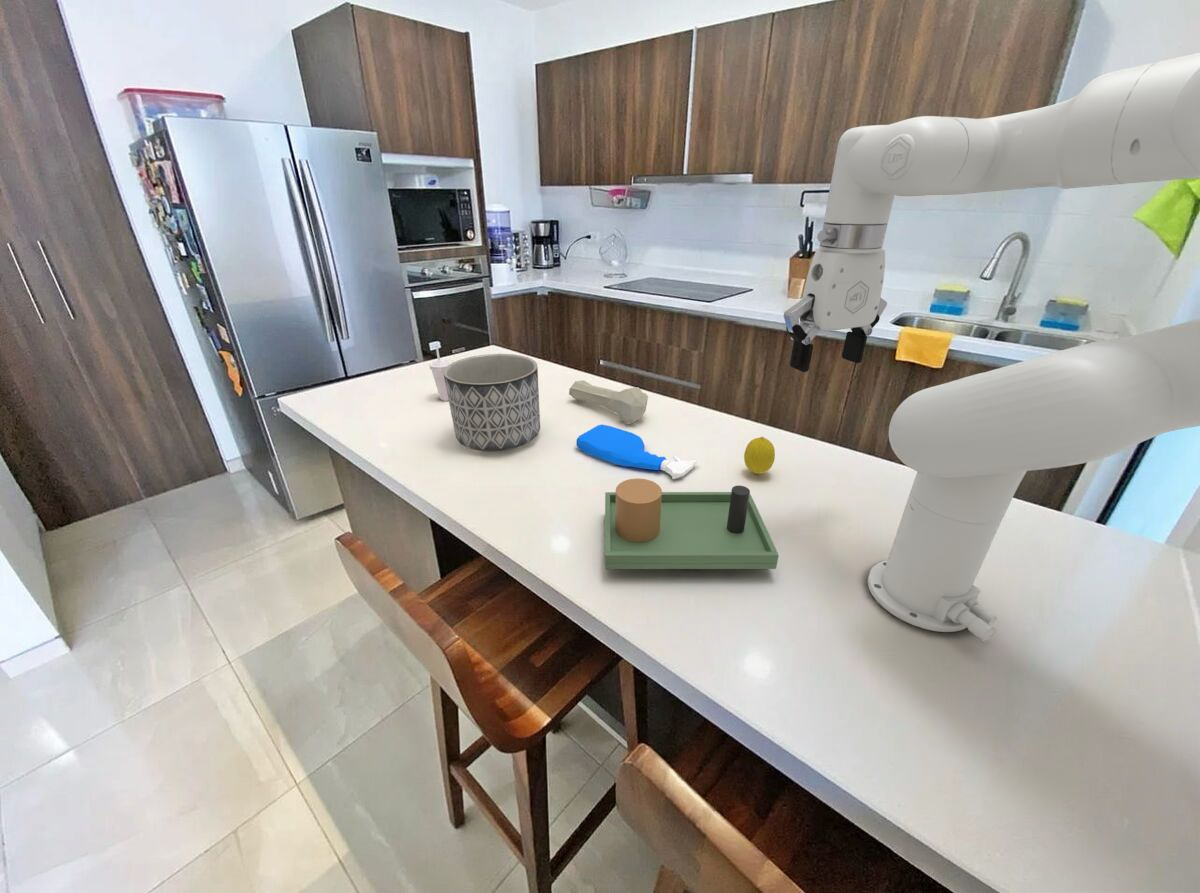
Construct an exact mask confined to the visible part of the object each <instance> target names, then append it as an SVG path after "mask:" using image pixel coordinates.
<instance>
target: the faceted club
mask: <svg viewBox="0 0 1200 893" xmlns="http://www.w3.org/2000/svg"><path fill="white" fill-rule="evenodd" d="M568 390H569V391H568V395H569V396H570V397H572V398H573V399H575V400H576V401H578V402H584V403H585V402H586V403H589V404H593V405H597V406H601V407H603V408H605V409H607V410H609V411H611V412H613V413H615V414H616V415H617V417H619V418H620V420H621V422H623V423H624V424H626V425H629V424H632V423H635V422H636V421H638V420H641V419H642V418H643V416H644V414H645V413H646V411H647V406H648V399H649V395H648V394H647V393H646V392H643V391H642V390H641V389H640V387H639V386H637V387H630V388H625V389H623V390H621V391H618V390H613V389H609V388H605V387H601V386H596V385H593V384H591V383H589V382H587V381H586V380H585V379H584V380H575V381H574V382H573V383H572V385H571V386H570V387H569V389H568Z"/></svg>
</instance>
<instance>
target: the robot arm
mask: <svg viewBox="0 0 1200 893" xmlns="http://www.w3.org/2000/svg"><path fill="white" fill-rule="evenodd" d="M831 174H832V175H831V180H830V185H829V191H828V195H827V202H826V209H825V213H824V217H823V218H824V219H823V222H822V223H823V224H822V228H821V229H822V230H820V231H819V232H817V233H818V234H817V241H818V242H819V246H818V249H816V250H815V252H814V255H813V258H812V261H811V263H810V265H809V266H810V267H809V270H808V273H807V275H806V280H805V283H804V288H803V292H802V296H801V300H799V301H798V302H796V303H795V304H794V305H792V306H791V307H789V308H788V309H787V310H785V311H784V312H783V318H784V323H785V325H786V326H785V327H786V328H785V330H786V332H787V333H788V334H789V336H790V340H792V341H793V344H792V350H791V356H790V361H789V366H790V367H791V368H793V369H795V370H798V371H800V372H802V373H807V372H809V370H810V366H811V361H812V356H813V351H814V344H813V343H811V342H812V341H813V340H814V338H815V337H816V336H817V335H818V334H819V332H820V331H821V330H822V331H825V332H831V331H832V332H833V331H841V330H848V329H850V331H846V335H845V338H844V343H843V348H842V353H841V358H842V359H843V360H847V361H849V362H852V363H854V364H861V363H862V361H863V356H864V352H865V349H866V344H867V340H868V337H870V336H871V335H872V334H873V328H874V327H875V326H876V325H877V324H878V323H879V321H880V319H881V317H880V316H882V314H883V313H884V311H885V309H886V308H887V306H888V302H887V301H886V300H885V299H884V298H882V291H883V287H884V286H883V285H884V278H885V269H886V249H884V248H883V245H884V242H885V238H886V233H887V229H888V225H889V220H890V216H891V213H892V212H891V211H892V207H893V204H894V199H895V196H897V197H925V196H955V195H956V196H957V195H958V196H959V195H968V194H979V193H989V192H990V193H991V192H1001V191H1011V190H1012V191H1013V190H1025V189H1036V188H1037V189H1038V188H1049V187H1051V188H1053V187H1055V188H1059V189H1063V190H1069V189H1080V188H1093V187H1103V186H1105V187H1106V186H1116V185H1126V184H1137V183H1138V184H1139V183H1140V184H1141V183H1150V182H1151V183H1152V182H1163V181H1175V180H1189V179H1200V52H1199V51H1198V52H1196V53H1191V54H1186V55H1181V56H1178V57H1173V58H1167V59H1164V60H1159V61H1154V62H1150V63H1145V64H1141V65H1136V66H1133V67H1128V68H1122V69H1118V70H1113V71H1109V72H1106V73H1104V74H1101V75H1100V76H1096V77H1094V78H1093V79H1092V80H1091V81H1089V82H1088V83H1087V84H1086V85H1085V86H1084V87H1083V88H1082V89H1081V90H1080V92H1078V94H1076V95H1075V96H1073V97H1071V98H1069V99H1066V100H1063V101H1060V102H1057V103H1054V104H1050V105H1046V106H1042V107H1039V108H1033V109H1029V110H1024V111H1017V112H1014V113H1008V114H1002V115H997V116H991V117H985V118H970V117H958V116H937V115H921V116H915V117H911V118H907V119H903V120H900V121H897V122H893V123H890V124H874V125H873V124H872V125H861V126H855V127H851V128H849V129H847V130H845V131H844V132H843V134H842V135H841V136H840V138H839V141H838V143H837V147H836V152H835V158H834V163H833V169H832V173H831ZM808 328H809V329H808ZM807 329H808V330H807ZM806 330H807V331H806ZM1196 427H1200V318H1197V319H1193V320H1188V321H1186V322H1182V323H1178V324H1175V325H1174V324H1173V325H1170V326H1167V327H1163V328H1158V329H1155V330H1150V331H1146V332H1143V333H1138V334H1134V335H1129V336H1123V337H1118V338H1110V339H1103V340H1097V341H1092V342H1088V343H1083V344H1080V345H1076V346H1072V347H1068V348H1065V349H1062V350H1057V351H1054V352H1050V353H1047V354H1043V355H1040V356H1037V357H1034V358H1029V359H1027V360H1023V361H1019V362H1016V363H1013V364H1008V365H1005V366H1001V367H998V368H995V369H991V370H989V371H988V370H987V371H985V372H980V373H975V374H972V375H969V376H965V377H960V378H958V379H955V380H951V381H949V382H944V383H941V384H938V385H934V386H930V387H927V388H923V389H921V390H919V391H916V392H915V393H913V394H911V395H909V396H908V397H907V398H905V399H904V400H902V402H901V403H900V404H899V405H898V406H897V407H896V409H895V410H894V412H893V414H892V416H891V418H890V422H889V425H888V441H889V444H890V447H891V449H892V451H893V453H894V454H895V456H896V457H897V458H898V460H900V461H901V462H902V463H903V464H904V465H905V466H906V467H908V468H909V469H911V470H913V471H915V472H916V474H915V476H914V478H913V483H912V486H911V489H910V492H909V494H908V498H907V501H906V503H905V506H904V509H903V513H902V515H901V518H900V522H899V525H898V528H897V530H896V534H895V536H894V540H893V542H892V545H891V549H890V551H889V555H888V557H887V560H883V561H880V562H877V563H876V564H875V565H873V566H872V567H871V569H870V571H869V573H868V576H867V586H868V590H869V592H870V593H871V595H872V597H873V598H874V600H875V601H876V602H877V603H878V604H879V605H880V606H881V607H882V608H883V609H885V611H887V612H888V613H890V614H891V615H893V616H895V618H898V619H899V620H901V621H903V622H905V623H907V624H910V625H912V626H915V627H917V628H921V629H924V630H928V631H933V632H941V633H955V632H959V631H963V630H965V629H967V630H968V631H969V632H970V633H972V634H973V635H974V636H976V637H978V638H979V639H980V640H981V641H983V642H986V641H987V640H989V639H990V638H991V637H992V636H993V635H994V634H995V631H996V628H994V627H993V626H992V625H994V623H996V621H997V620H998V617H997V616H996V615H994V614H993V613H991V612H990V611H989V610H987V609H985V608H984V607H982V606H981V605H980V602H979V601H977V600H978V598H979V596H980V594H981V589H980V588H978V587H977V586H975V585H974V583H975V581H976V579H977V576H978V574H979V572H980V570H981V567H982V565H983V563H984V561H985V558H986V556H987V554H988V552H989V549H990V548H991V545H992V544H993V542H994V539H995V536H996V535H997V532H998V530H999V528H1000V526H1001V523H1002V521H1003V519H1004V517H1005V515H1006V513H1007V511H1008V508H1009V506H1010V504H1011V503H1012V500H1013V498H1014V496H1015V494H1016V492H1017V490H1018V488H1019V486H1020V484H1021V482H1022V481H1023V479H1024V477H1025V476H1026V474H1027V472H1030V471H1039V470H1048V469H1049V470H1050V469H1059V468H1064V467H1070V466H1076V465H1081V464H1087V463H1090V462H1091V463H1092V462H1095V461H1099V460H1102V459H1105V458H1108V457H1111V456H1113V455H1116V454H1118V453H1121V452H1123V451H1125V450H1128V449H1130V448H1132V447H1134V446H1137V445H1138V444H1140V443H1143V442H1145V441H1148V440H1150V439H1153V438H1156V437H1158V436H1160V435H1162V434H1166V433H1170V432H1175V431H1179V430H1185V429H1190V428H1196Z"/></svg>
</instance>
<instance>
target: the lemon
mask: <svg viewBox="0 0 1200 893" xmlns="http://www.w3.org/2000/svg"><path fill="white" fill-rule="evenodd" d="M775 458H776V452H775V446H774V444H773V443H772V442H771V440H769V439H768V438H765V437H764V436H760V437H755V438H753V439H752V440H750V441H749V442H748V443H747V445H746V447H745V450H744V454H743V460H744V465H745V466H746V468H747V469H748V470H749V471H750V472H752V473H754V475H759V474H763V473H766V472H768V471H769V470H771V469H772V467H773V464H774V462H775Z"/></svg>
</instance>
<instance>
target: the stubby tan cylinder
mask: <svg viewBox="0 0 1200 893" xmlns="http://www.w3.org/2000/svg"><path fill="white" fill-rule="evenodd" d="M615 492H616V532H617V534H618V535H619V536H620V537H621V538H623V539H625V540H627V541H630V542H636V543H641V542H647V541H650V540H653V539H654V538H656V537H657V536H658V534H659V532H660V517H661V499H662V492H663V491H662V488H661V486H660V485H659V484H658V483H656V482H655V481H653V480H650V479H647V478H630V479H625V480H623V481H621V482H619V483H618V485H617V486H616V488H615Z"/></svg>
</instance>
